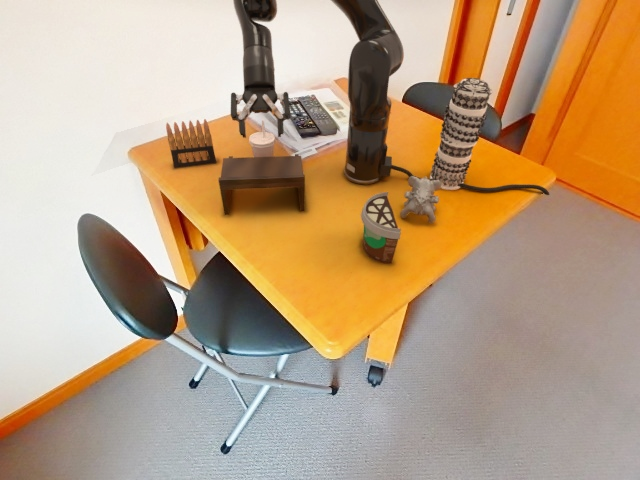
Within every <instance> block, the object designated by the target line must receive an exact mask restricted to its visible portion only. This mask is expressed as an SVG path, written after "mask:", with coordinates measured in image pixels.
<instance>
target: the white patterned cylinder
mask: <svg viewBox="0 0 640 480" xmlns="http://www.w3.org/2000/svg"><path fill="white" fill-rule="evenodd" d="M493 93H494V92H493V90H492V88H491V87H490V85H489V83H488V82H487V81H486V80H484V79H481V78H476V77H466V78H462V79H461V80H460V81H459V82H458V83H457V82H456V83H455V84H454V85H453V92H452V95H451V96H452V97H451V99H450V101H449V102H448V104H446V107H445V109H444V115H443V116H444V117H443V119H442V120H443V123H442V124H441V127H442V128H441V132H440V136H439V137H440V144H439V146H438V148H437V151H436V153H435V154H434V156H435V157H434V158H433V164H432V165H431V170H430V175H429V179H434V180H440V181H441V184H442V185H441V188H440V189H442V190H447V191H454V190H455V191H456V190H459V189H461V188H462V187H460V186H458V185H459V184H461V183H463V184H465V183H464V182H465V180H466V179H467V178H466V177H467V175H468V170H469V168H470V164H471V163H472V159H471V158H472V154H473V152H472V151H473V150H474V147H475V146H476V144H477V143H478V141H479V140H480V137H479V136H480V135H481V134H482V130H481V129H480V128H483V127H484V126H485V124H486V123H485V122H484V121H486V120H487V118H488V117H487V114H486V112H487V109H488V102H489V100H490V96H492V94H493Z"/></svg>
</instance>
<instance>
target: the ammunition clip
mask: <svg viewBox="0 0 640 480" xmlns="http://www.w3.org/2000/svg"><path fill="white" fill-rule="evenodd" d="M195 127H196V129H195ZM195 127H194V124H193V122H192V120H189V122H188V129H187V125H186V123H185V122H184V121H181V130H180V128H179V125H178V123H177V122H176V121H174V123H173V129H174V131H173V130H172V128H171V125H170V124H169V123H168V122H166V125H165V129H166V135H167V142H168V145H169V146H168V147H169V150H170V153H171V159H172V164H173V169H180V168H187V167H188V168H189V167H196V166H205V165H206V166H207V165H213V164H216V163H217V158H216V154H215V148H214V143H213V138H212V134H211V130H210V126H209V123H208V121H207V119H206V118H204V120H203V127H202V125H201V122H200V121H199V119H197V120H196V123H195ZM188 130H189V132H188ZM203 130H204V132H203ZM173 132H174V134H173ZM181 132H182V134H181Z"/></svg>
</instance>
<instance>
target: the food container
mask: <svg viewBox="0 0 640 480" xmlns="http://www.w3.org/2000/svg"><path fill="white" fill-rule="evenodd" d="M388 196H389V191H385V192H378V193H376V194H374V195H372V196H370V197H369V198H368V199H367V200H366V201H365V203H364V204H363V207H362V210H361V211H360V220H361V222H362V224H363V231H362V232H363V233H362V234H363V236H362V248H363V251H364V253H365V254H366V255H367V257H369V258H370V259H372V260H374V261H375V262H378V263H381V264H382V263H383V264H393V260H394V256H395V253H396V249H397V245H398V243H399V240H400V239H401V235H402V232H401V231H402V229H401V228H399V227H398V224H397V222H396V218H395V213H394V211H393V209H392V207H391V203H390V201H389V198H388Z"/></svg>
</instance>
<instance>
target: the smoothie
mask: <svg viewBox="0 0 640 480" xmlns="http://www.w3.org/2000/svg"><path fill="white" fill-rule="evenodd" d="M265 126H266V125H265V120H261V127H262V129H261V130H262V131H257V132H254V133H252V134H250V135H249V136H248V144H249V145H250V146H251V151H252V155H253V157H274V150H275V144H276V136H275V135H274V134H273V133H272V132H268V131H266V127H265Z"/></svg>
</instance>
